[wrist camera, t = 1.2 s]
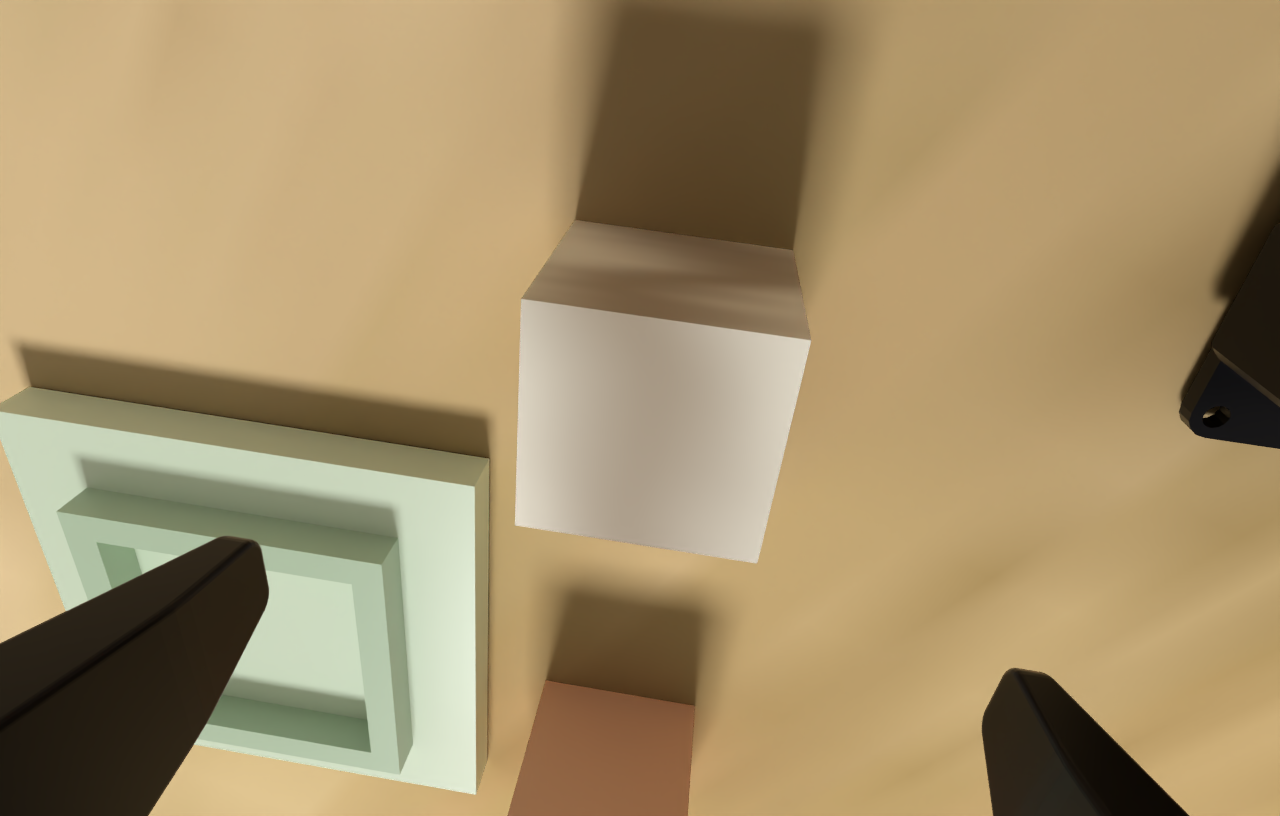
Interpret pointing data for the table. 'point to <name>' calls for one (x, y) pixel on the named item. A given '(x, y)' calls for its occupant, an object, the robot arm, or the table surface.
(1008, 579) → the table surface
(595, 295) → the cream brick
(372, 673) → the baseplate
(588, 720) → the salmon pink cube
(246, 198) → the table surface
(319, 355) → the table surface
